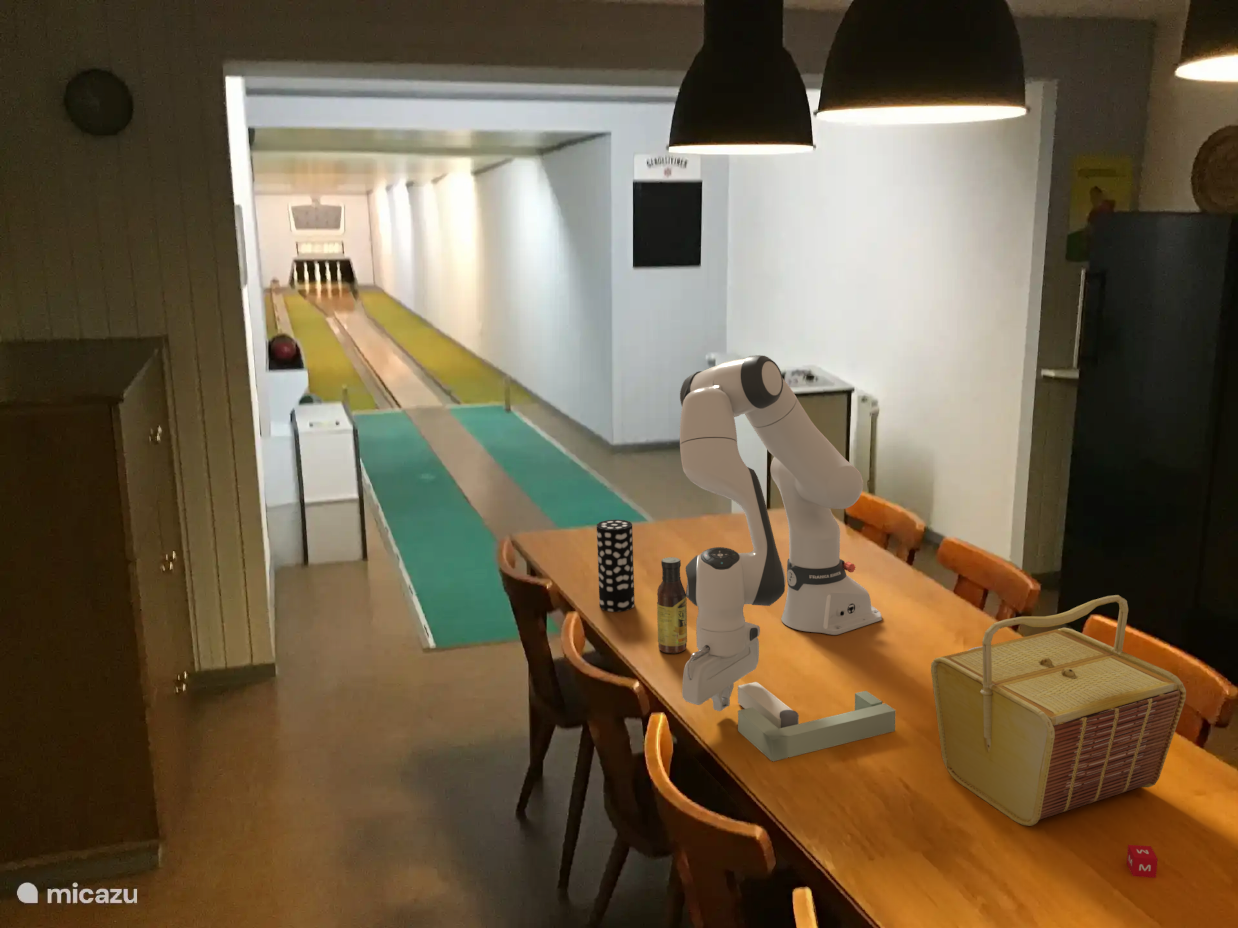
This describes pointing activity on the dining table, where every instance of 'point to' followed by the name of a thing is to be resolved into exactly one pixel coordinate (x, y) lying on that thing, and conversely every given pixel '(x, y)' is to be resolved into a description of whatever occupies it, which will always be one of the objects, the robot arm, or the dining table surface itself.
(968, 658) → the picnic basket
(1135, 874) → the dice
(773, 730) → the frame
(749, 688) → the bar
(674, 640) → the sauce bottle
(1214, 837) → the dining table surface
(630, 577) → the white-spotted black cylinder
